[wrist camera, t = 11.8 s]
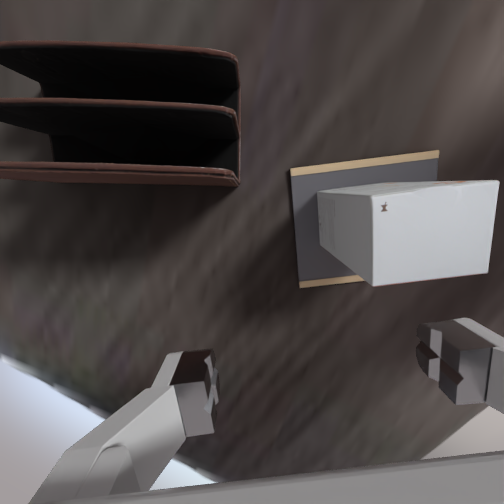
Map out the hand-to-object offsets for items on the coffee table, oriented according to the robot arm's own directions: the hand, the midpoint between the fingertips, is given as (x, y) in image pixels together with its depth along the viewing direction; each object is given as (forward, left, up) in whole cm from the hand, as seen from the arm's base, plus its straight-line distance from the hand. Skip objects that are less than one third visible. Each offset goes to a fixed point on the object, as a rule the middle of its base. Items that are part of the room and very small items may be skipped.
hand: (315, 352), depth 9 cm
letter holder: (+12, -12, -22) cm, 28 cm away
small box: (-10, -1, -22) cm, 24 cm away
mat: (-11, 0, -22) cm, 24 cm away
